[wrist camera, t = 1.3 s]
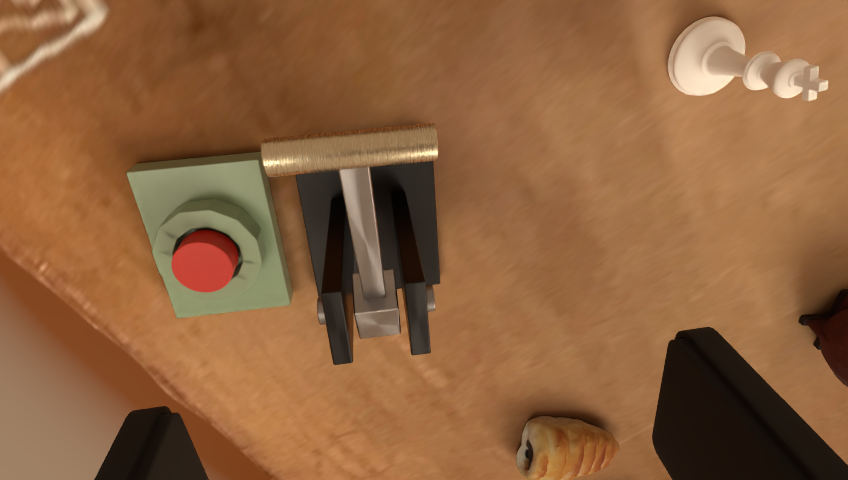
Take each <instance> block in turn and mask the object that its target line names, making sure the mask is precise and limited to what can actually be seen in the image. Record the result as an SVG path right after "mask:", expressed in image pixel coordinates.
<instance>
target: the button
mask: <svg viewBox="0 0 848 480" xmlns="http://www.w3.org/2000/svg"><path fill="white" fill-rule="evenodd" d="M237 263H238V251H237V248H236V246H235V245H234V243H233V242H232V241H231V240H230V239H229V238H228V237H227V236H225V235H223V234H222V233H219V232H217V231H213V230H199V231H195V232H193V233H191V234H189V235H188V236H186V237H185V238H184V239H183V241H182V242H181V244H180V246H179V247H178V249H177V250H176V252H175V253H174V255H173V257H172V262H171V266H172V271H173V273H174V275H175V277H176V278H177V280H178V281H179V282H180V283H181V284H182V285H184V286H185V287H187V288H189V289H191V290H194V291H197V292H214V291H217V290H220V289H222V288H223V287H225V286H226V285H227V284H228V283H229V282H230V280H231V278H232V276H233V273H234V271H235V268H236V266H237Z"/></svg>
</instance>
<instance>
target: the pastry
mask: <svg viewBox="0 0 848 480" xmlns="http://www.w3.org/2000/svg"><path fill="white" fill-rule="evenodd" d="M619 449H620V447H619V444H618V442H617V441H616V440H615V438H614V436H613V435H612V434H611V433H610V432H608V431H605V430H603V429H601V428H600V427H595V426H594V425H592V424H591V425H589V424H587V423H585V422H583V421H582V420H579V419H570V418H562V417H558V418H553V417H551V416H540V417H537V418H533V419H531V420H529V421H528V422H527V423H526V425H525V428H524V430H523V433H522V445H521V447H520V448H519V450H518V452H517V456H516V463H517V466H518V469H519V471H520V473H521V474H522V476H523V477H524V478H525V479H527V480H570V479H572V478H574V477H579V476H581V475H590V474H592V473H593V472H596V471H598V470H600V469H603V468H605V467H607V466H608V465H609V463H610V462H611V461H612V459H613V458H614V455H615V454H616V453H617V452H618V451H619Z"/></svg>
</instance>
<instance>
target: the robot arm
mask: <svg viewBox="0 0 848 480" xmlns="http://www.w3.org/2000/svg"><path fill="white" fill-rule="evenodd" d="M652 439H653V445H654V448H655V451H656V453H657V455H658V456H659V458H660V460H661V461H662V463H663V465H664V466H665V468H666V470H667V471H668V473H669V475H670V476H671V478H672V480H848V465H847V464H846V463H845V462H844V461H843V460H842V459H841V458H840V457H839V456H838V455H837V454H836V453H835V452H834V451H833V450H832V449H831V448H830V447H829V446H828V445H827V444H826V443H825V442H824V440H823V439H822V438H821V437H820V436H819V435H818V434H817V433H816V432H815V431H814V430H813V429H812V428H811V427H810V426H809V425H808V424H807V423H806V422H805V421H804V420H803V419H802V418H801V417H800V416H799V415H798V414H797V413H796V412H795V411H794V410H793V409H792V408H791V407H790V406H789V405H788V403H787V402H786V401H785V400H784V399H782V398H781V397H780V396H779V395H778V394H777V393H776V392H775V391H774V390H773V389H772V387H771V386H770V385H769V384H768V383H767V382H766V381H765V380H764V379H763V378H762V377H761V376H760V375H759V374H758V373H757V372H756V371H755V370H754V369H753V368H752V367H751V366H750V365H749V364H748V363H747V362H746V361H745V360H744V359H743V358H742V357H741V356H740V355H739V354H738V352H737V351H736V350H735V349H734V348H733V347H732V346H731V345H730V344H729V343H728V342H727V341H726V340H725V339H724V338H723V337H722V336H721V335H720V334H719V333H718V332H717V331H716V330H715V329H713V328H711V327H704V328H697V329H690V330H684V331H679V332H678V333H677V334H676V337H675V340H671V341H670V342H669V344H668V348H667V354H666V359H665V365H664V371H663V377H662V382H661V388H660V394H659V399H658V405H657V411H656V416H655V422H654V428H653V434H652ZM94 480H209V479H208V477H207V475H206V473H205V470H204V468H203V466H202V463H201V461H200V459H199V457H198V454H197V452H196V450H195V448H194V445H193V443H192V440H191V438H190V436H189V434H188V431H187V429H186V427H185V425H184V422H183V420H182V418H181V416H180V414H178V413H172V412H171V411H170V409H169V408H168V407H166V406H162V407H155V408H148V409H141V410H135V411H132V412H130V413H129V414H128V416H127V417H126V419H125V421H124V423H123V425H122V427H121V429H120V430H119V433H118V435H117V436H116V438H115V440H114V442H113V444H112V446H111V448H110V450H109V452H108V454H107V456H106V458H105V460H104V462H103V464H102V466H101V468H100V470H99V472H98V474H97V476H96V478H95V479H94Z"/></svg>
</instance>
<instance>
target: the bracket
mask: <svg viewBox="0 0 848 480" xmlns="http://www.w3.org/2000/svg"><path fill="white" fill-rule="evenodd" d="M370 172H371V179H372V187H373V195H374V203H375V210H376V218H377V226H378V234H379V242H380V249H381V257H382V265H383V270H389V269H394V272H395V281H396V289H399V288H402V292H403V299H404V306H405V313H406V320H407V327H408V334H409V341H410V348H411V354H412V355H419V354H427V353H430V352H431V350H430V336H429V323H428V312H430V311H435V298H434V291H433V286H432V285H434V284H440V271H439V254H438V237H437V220H436V203H435V186H434V169H433V161H426V162H416V163H406V164H396V165H386V166H376V167H370ZM296 180H297V185H298V191H299V196H300V201H301V206H302V212H303V217H304V222H305V227H306V233H307V238H308V243H309V249H310V254H311V259H312V264H313V270H314V275H315V280H316V285H317V291H318V296H319V298H318V299H317V314H318V320H319V323H320V324H321V325H323V324H326V327H327V332H328V338H329V343H330V348H331V354H332V359H333V364H334V365H339V364H347V363H352V362H353V290H352V274H354V273H359V271H358V266H357V261H356V256H355V251H354V246H353V241H352V236H351V231H350V226H349V221H348V216H347V211H346V206H345V201H344V196H343V191H342V186H341V181H340V176H339V171H338V170H336V171H326V172H316V173H306V174H296Z"/></svg>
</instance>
